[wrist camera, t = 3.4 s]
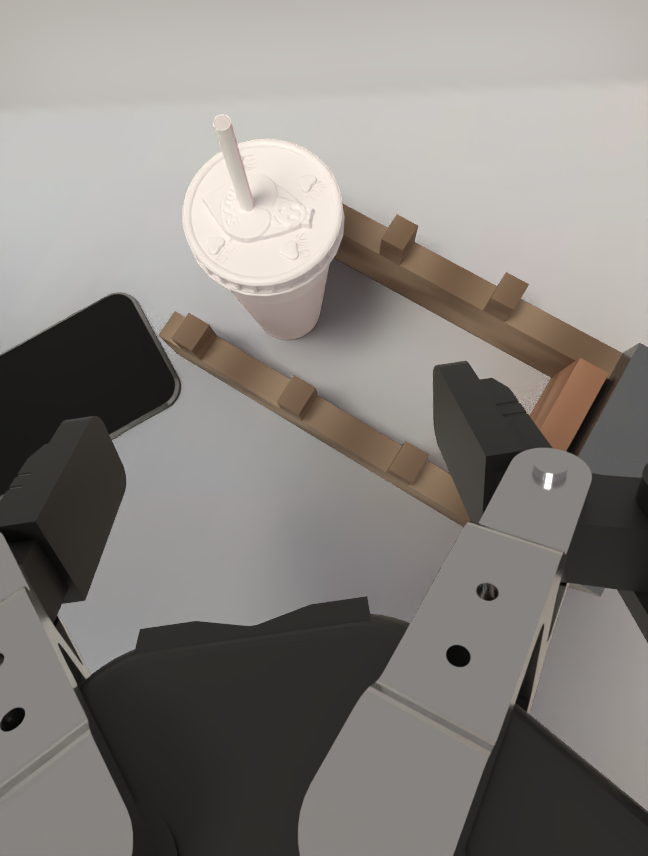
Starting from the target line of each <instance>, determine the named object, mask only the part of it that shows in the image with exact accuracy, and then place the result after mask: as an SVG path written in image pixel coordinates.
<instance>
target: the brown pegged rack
mask: <svg viewBox="0 0 648 856" xmlns="http://www.w3.org/2000/svg"><path fill="white" fill-rule="evenodd" d="M342 207H343V211H344V216H345V218H344V231H343V237H342V240H341V243H340V245H339V248H338V251H337V253H336V255H335V257H334V258H335V259H337V260H339V261H341V262H343V263H345V264H346V265H348V266H350V267H352V268H354V269H355V270H357V271H359V272H361V273H363V274H365V275H366V276H368V277H370V278H372V279H374V280H375V281H377V282H379V283H381V284H383V285H384V286H386V287H388V288H390V289H392V290H394V291H395V292H397V293H399V294H401V295H403V296H404V297H406V298H408V299H410V300H412V301H414V302H415V303H417V304H419V305H421V306H423V307H424V308H426V309H428V310H430V311H432V312H433V313H435V314H437V315H439V316H441V317H443V318H444V319H446V320H448V321H450V322H452V323H453V324H455V325H457V326H459V327H461V328H463V329H464V330H466V331H468V332H470V333H472V334H473V335H475V336H477V337H479V338H481V339H483V340H484V341H486V342H488V343H490V344H492V345H493V346H495V347H497V348H499V349H501V350H502V351H504V352H506V353H508V354H510V355H512V356H513V357H515V358H517V359H519V360H521V361H522V362H524V363H526V364H528V365H530V366H532V367H533V368H535V369H537V370H539V371H541V372H542V373H544V374H546V375H548V376H550V377H552V378H551V379H550V381H549V383H548V385H547V386H546V388H545V390H544V392H543V394H542V395H541V397H540V399H539V401H538V402H537V404H536V406H535V408H534V409H533V411H532V413H531V415H530V417H531V419H532V420H533V422H534V423H535V424H536V426H537V427H538V428H539V430H540V431H541V432H542V434H543V435H544V437H545V438H546V439H547V441H548V442H549V443H550V445H551V446H552V448H554V449H559V450H563V451H567V449H568V447H569V445H570V443H571V442H572V440H573V438H574V436H575V434H576V433H577V431H578V429H579V427H580V425H581V423H582V422H583V420H584V418H585V416H586V414H587V412H588V411H589V409H590V407H591V405H592V403H593V402H594V400H595V398H596V396H597V394H598V392H599V391H600V389H601V387H602V385H603V383H604V381H605V380H607V379H609V377H610V375H611V373H612V372H613V370H614V368H615V366H616V364H617V362H618V361H619V359H620V357H621V355H622V353H621V352H619V351H617V350H615V349H614V348H612V347H610V346H608V345H606V344H604V343H602V342H600V341H599V340H597V339H595V338H593V337H591V336H589V335H587V334H585V333H584V332H582V331H580V330H578V329H576V328H574V327H572V326H571V325H569V324H567V323H565V322H563V321H561V320H559V319H557V318H556V317H554V316H552V315H550V314H548V313H546V312H544V311H542V310H541V309H539V308H537V307H535V306H533V305H531V304H529V303H527V302H526V301H524V300H522V299H521V297H522V295H523V294H524V292H525V290H526V289H527V287H528V285H529V284H527V283H525V282H524V281H522V280H520V279H518V278H516V277H514V276H512V275H510V274H508V273H507V272H506V274H505V275H504V277H503V278H502V280H501V281H500V283H499V284H498V286H496V285H494V284H492V283H490V282H488V281H486V280H484V279H483V278H481V277H479V276H477V275H475V274H473V273H471V272H469V271H468V270H466V269H464V268H462V267H460V266H458V265H456V264H454V263H453V262H451V261H449V260H447V259H445V258H443V257H441V256H439V255H438V254H436V253H434V252H432V251H430V250H428V249H426V248H425V247H423V246H421V245H419V244H417V243H415V242H414V241H415V237H416V233H417V229H418V225H416V224H414V223H412V222H410V221H408V220H406V219H405V218H403V217H401V216H399V215H396V217H395V218H394V220H393V221H392V223H391V224H390V226H389V227H388V228H387V227H385V226H383V225H381V224H380V223H378V222H376V221H374V220H372V219H370V218H368V217H366V216H365V215H363V214H361V213H359V212H357V211H355V210H353V209H352V208H350V207H348V206H346V205H344V204H342ZM159 336H160V337H161V338H162V339H163V340H164V341H165V342H166V343H167V344H168V345H169V346H170V347H171V348H172V349H173V350H174V351H175V352H176V353H177V354H178V355H180V356H182V357H183V358H185V359H187V360H188V361H190V362H192V363H193V364H195V365H197V366H198V367H200V368H202V369H203V370H205V371H207V372H208V373H210V374H212V375H213V376H215V377H217V378H218V379H220V380H221V381H223V382H225V383H226V384H228V385H230V386H231V387H233V388H235V389H236V390H238V391H240V392H241V393H243V394H245V395H246V396H248V397H250V398H251V399H253V400H255V401H256V402H258V403H260V404H261V405H263V406H264V407H266V408H268V409H269V410H271V411H273V412H274V413H276V414H278V415H279V416H281V417H283V418H284V419H286V420H288V421H289V422H291V423H293V424H294V425H296V426H298V427H299V428H301V429H303V430H304V431H306V432H307V433H309V434H311V435H312V436H314V437H316V438H317V439H319V440H321V441H322V442H324V443H326V444H327V445H329V446H331V447H332V448H334V449H336V450H337V451H339V452H341V453H342V454H344V455H346V456H347V457H349V458H350V459H352V460H354V461H355V462H357V463H359V464H360V465H362V466H364V467H365V468H367V469H369V470H370V471H372V472H374V473H375V474H377V475H379V476H380V477H382V478H384V479H385V480H387V481H389V482H390V483H392V484H393V485H395V486H397V487H398V488H400V489H402V490H403V491H405V492H407V493H408V494H410V495H412V496H413V497H415V498H417V499H418V500H420V501H422V502H423V503H425V504H427V505H428V506H430V507H432V508H433V509H435V510H436V511H438V512H440V513H441V514H443V515H445V516H446V517H448V518H450V519H451V520H453V521H455V522H456V523H458V524H460V525H461V526H463V527H464V526H465V525H466V524H467V523H468V522H469V521H470V519H469V516H468V514H467V512H466V509H465V507H464V505H463V502H462V500H461V498H460V495H459V493H458V491H457V488H456V486H455V484H454V481H453V479H452V477H451V474H449V473H447V472H446V471H444V470H442V469H440V468H439V467H437V466H435V465H434V464H432V463H430V462H429V461H427V460H426V459H427V457H428V454H427V453H425V452H423V451H422V450H420V449H418V448H417V447H415V446H413V445H412V444H410V443H408V442H406V441H405V443H404V444H403V445H400V444H398V443H397V442H395V441H393V440H392V439H390V438H388V437H386V436H385V435H383V434H381V433H380V432H378V431H376V430H375V429H373V428H371V427H370V426H368V425H366V424H365V423H363V422H361V421H359V420H358V419H356V418H354V417H353V416H351V415H349V414H348V413H346V412H344V411H343V410H341V409H339V408H338V407H336V406H334V405H332V404H331V403H329V402H327V401H326V400H324V399H322V398H321V397H319V396H317V392H316V388H315V387H313V386H312V385H310V384H308V383H307V382H305V381H303V380H301V379H300V378H298V377H296V376H295V375H293V377H292V379H291V380H290V379H289V378H287V377H285V376H284V375H282V374H280V373H278V372H277V371H275V370H273V369H272V368H270V367H268V366H267V365H265V364H263V363H262V362H260V361H258V360H257V359H255V358H253V357H251V356H250V355H248V354H246V353H245V352H243V351H241V350H240V349H238V348H236V347H235V346H233V345H231V344H230V343H228V342H226V341H224V340H223V339H221V338H219V337H218V336H216V334H215V333H214V331H213V330H212V328H211V327H210V325H208V324H207V323H205V322H203V321H202V320H200V319H198V318H196V317H195V316H193V315H191V314H190V313H188V315H187V316H186V317H184V316H182V315H181V314H179V313H177V312H176V311H175V312H174V313H173V315H172V316H171V318H170V319H169V321H168V322H167V323H166V325H165V326H164V328H163V329H162V331H161V332H160V334H159Z"/></svg>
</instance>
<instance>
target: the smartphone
mask: <svg viewBox="0 0 648 856" xmlns="http://www.w3.org/2000/svg"><path fill="white" fill-rule="evenodd" d="M179 393H180V381H179V378H178V376H177V374H176V373H175V371H174V369H173V367H172V365H171V363H170V362H169V360H168V358H167V356H166V354H165V352H164V350H163V349H162V347H161V345H160V343H159V341H158V339H157V338H156V336H155V334H154V332H153V330H152V328H151V327H150V325H149V323H148V321H147V319H146V317H145V315H144V314H143V312H142V310H141V308H140V306H139V304H138V303H137V301H136V300H135V299H134V298H133V297H131V296H130V295H128V294H125V293H113V294H110V295H108V296H106V297H104V298H102V299H100V300H99V301H97V302H95V303H93V304H91V305H90V306H88V307H86V308H84V309H82V310H80V311H78V312H76V313H74V314H72V315H70V316H69V317H67V318H66V319H64V320H62V321H59V322H58V323H56V324H54V325H52V326H50V327H48V328H47V329H45V330H43V331H42V332H41V333H39V334H37V335H35V336H33V337H32V338H30V339H28V340H26V341H24V342H22V343H21V344H19V345H17V346H15V347H13V348H12V349H10V350H8V351H6V352H4V353H2V354H1V355H0V501H1V499H2V497H3V496H4V494H5V493H6V491H7V490H10V488H9V487H10V485H11V484H12V482H13V480H14V479H15V477H18V475H17V474H18V473H19V471H20V470H21V468H22V467H23V465H24V463H25V462H26V460H27V459H28V458H29V457H30V456H31V455H33V454H34V453H35V452H36V451H37V450H39V449H40V448H41V447H42V446H43V445H44V444H49V442H50V440H51V439H52V437H53V436H54V434H55V432H56V431H57V429H58V427H59V426H60V424H61V423H62V422H63V421H65V420H71V419H78V418H84V417H91V416H98V417H99V418H100V419H101V420H102V421H103V423H104V425H105V427H106V429H107V431H108V433H109V436H110V438H111V440H112V439H114V438H115V437H117V436H119V435H120V434H122V433H124V432H125V431H127V430H129V429H131V428H133V427H134V426H136V425H138V424H140V423H141V422H143V421H145V420H147V419H149V418H150V417H152V416H154V415H156V414H157V413H159V412H161V411H163V410H165V409H166V408H168V407H170V406H171V405H172V404H173V403H174V402H175V401H176V400H177V398H178V396H179Z"/></svg>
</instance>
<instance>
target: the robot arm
mask: <svg viewBox="0 0 648 856" xmlns="http://www.w3.org/2000/svg"><path fill="white" fill-rule="evenodd" d="M433 415H434V430H435V436H436V440H437V443H438V446H439V449H440V451H441V453H442V456H443V458H444V460H445V463H446V465H447V467H448V470H449V472H450V474H451V477H452V479H453V481H454V484H455V486H456V488H457V491H458V493H459V495H460V498H461V500H462V502H463V505H464V507H465V509H466V512H467V514H468V516H469V519H470V521H469V522H468V523H467V524H466V525H465V526H464V528H463V529H462V531H461V533H460V535H459V536H458V538H457V540H456V542H455V544H454V545H453V547H452V549H451V551H450V553H449V554H448V556H447V558H446V560H445V562H444V564H443V565H442V567H441V569H440V571H439V573H438V574H437V576H436V578H435V580H434V582H433V583H432V585H431V587H430V589H429V591H428V592H427V594H426V596H425V598H424V600H423V601H422V603H421V605H420V607H419V609H418V610H417V612H416V614H415V616H414V618H413V619H412V621H411V623H408V622H405V621H402V620H399V619H396V618H392V617H388V616H383V615H376V614H370V611H369V605H368V599H367V597H360V598H353V599H346V600H339V601H332V602H325V603H318V604H311V605H309V606H306V607H303V608H301V609H298V610H295V611H293V612H290V613H287V614H285V615H282V616H279V617H277V618H274V619H272V620H269V621H266V622H264V623H261V624H258V625H255V626H241V625H230V624H220V623H209V622H199V621H194V622H187V623H180V624H173V625H166V626H159V627H152V628H145V629H140V632H139V636H138V640H137V644H136V648H135V649H134V650H132V651H130V652H128V653H126V654H124V655H122V656H119V657H117V658H116V659H114V660H112V661H111V662H109V663H107V664H106V665H104V666H103V667H101V668H100V669H98V670H97V671H96V672H94V673H93V674H92V675H91V673H90V672H89V670H88V668H87V666H86V664H85V662H84V660H83V658H82V656H81V655H80V653H79V651H78V649H77V647H76V645H75V643H74V641H73V640H72V638H71V636H70V634H69V632H68V630H67V628H66V626H65V624H64V623H63V621H62V620H61V618H60V617H59V615H58V612H59V609H60V607H61V605H62V604H64V603H71V602H78V601H84V600H85V599H86V597H87V594H88V591H89V588H90V586H91V583H92V580H93V578H94V575H95V572H96V569H97V567H98V564H99V561H100V558H101V556H102V553H103V550H104V547H105V545H106V542H107V539H108V536H109V534H110V531H111V528H112V525H113V523H114V520H115V517H116V514H117V512H118V509H119V506H120V504H121V501H122V498H123V495H124V493H125V489H126V475H125V470H124V467H123V464H122V462H121V460H120V458H119V455H118V453H117V451H116V449H115V447H114V444H113V442H112V440H111V438H110V436H109V433H108V431H107V429H106V427H105V425H104V423H103V421H102V420H101V419H100V418H99V417H98V416H91V417H84V418H78V419H71V420H65V421H63V422H62V423H61V424H60V426H59V427H58V429H57V431H56V432H55V434H54V436H53V437H52V439H51V440H50V442H49V444H44V445H43V446H42V447H41V448H40V449H39V450H37V451H36V452H35V453H34V454H33V455H31V456H30V457H29V458H28V459H27V460H26V462H25V463H24V465H23V467H22V468H21V470H20V471H19V473H18V474H17V475H18V477H15V479H14V480H13V482H12V484H11V485H10V487H9V488H10V490H7V491H6V493H5V494H4V496H3V497H2V499H1V501H0V856H648V811H646V810H645V809H644V808H643V807H642V806H640V805H639V804H638V803H637V802H635V801H634V800H633V799H632V798H631V797H629V796H628V795H627V794H626V793H625V792H623V791H622V790H621V789H620V788H618V787H617V786H616V785H615V784H614V783H612V782H611V781H610V780H609V779H607V778H606V777H605V776H604V775H603V774H601V773H600V772H599V771H598V770H597V769H595V768H594V767H593V766H592V765H590V764H589V763H588V762H587V761H586V760H584V759H583V758H582V757H581V756H579V755H578V754H577V753H576V752H575V751H573V750H572V749H571V748H570V747H569V746H567V745H566V744H565V743H564V742H562V741H561V740H560V739H559V738H558V737H556V736H555V735H554V734H553V733H551V732H550V731H549V730H548V729H547V728H545V727H544V726H543V725H542V724H540V723H539V722H538V721H537V720H536V719H534V718H533V717H532V716H531V715H530V714H529V713H530V710H531V706H532V703H533V700H534V697H535V693H536V690H537V686H538V683H539V679H540V675H541V671H542V667H543V664H544V660H545V657H546V653H547V650H548V647H549V644H550V641H551V638H552V635H553V631H554V628H555V625H556V622H557V619H558V616H559V613H560V610H561V607H562V604H563V600H564V597H565V594H566V591H567V588H568V585H569V583H573V584H581V585H588V586H596V587H604V588H611V589H617V590H618V592H619V593H620V595H621V597H622V599H623V600H624V602H625V604H626V606H627V607H628V609H629V611H630V613H631V614H632V616H633V618H634V620H635V621H636V623H637V625H638V627H639V628H640V630H641V632H642V634H643V635H644V637H645V639H646V641H647V642H648V463H647V464H646V466H645V467H644V469H643V473H642V476H641V478H638V477H624V476H610V475H601V474H595V473H591V471H590V468H589V467H588V465H587V464H586V463H585V462H584V461H583V460H581V459H580V458H579V457H577V456H575V455H573V454H571V453H569V452H566V451H563V450H559V449H554V448H552V446H551V445H550V443H549V442H548V441H547V439H546V438H545V437H544V435H543V434H542V432H541V431H540V430H539V428H538V427H537V426H536V424H535V423H534V422H533V420H532V419H531V417H530V416H529V415H528V414H526V411H525V409H524V408H523V406H522V405H521V404H520V403H518V400H517V398H516V397H515V395H514V394H513V393H512V391H511V390H510V389H509V388H508V387H507V386H505V385H503V384H501V383H500V382H498V381H496V380H495V379H493V378H488V379H482V380H479V378H478V377H477V375H476V374H475V372H474V371H473V369H472V367H471V366H470V364H469V363H468V362H467V361H462V362H455V363H449V364H442V365H436V366H435V367H434V370H433Z"/></svg>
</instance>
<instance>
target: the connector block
mask: <svg viewBox="0 0 648 856" xmlns="http://www.w3.org/2000/svg"><path fill="white" fill-rule="evenodd" d="M566 452H569V453H571V454H573V455H575V456H577V457H579V458H580V459H581V460H583V461H584V462H585V463H586V464H587V465H588V467H589V468H590V471H591V473H595V474H601V475H610V476H624V477H638V478H641V476H642V473H643V469H644V467H645V466H646V464H647V463H648V347H646V346H644V345H643V344H641V343H639V344H637V345H635V346H634V347H632V348H630V349H629V350H627V351H625V352H624V353H622V355H621V357H620V359H619V361H618V362H617V364H616V366H615V368H614V370H613V372H612V373H611V375H610V377H609V379H607V380H605V381H604V383H603V385H602V387H601V389H600V391H599V392H598V394H597V396H596V398H595V400H594V402H593V403H592V405H591V407H590V409H589V411H588V412H587V414H586V416H585V418H584V420H583V422H582V423H581V425H580V427H579V429H578V431H577V433H576V434H575V436H574V438H573V440H572V442H571V443H570V445H569V447H568V449H567V451H566ZM568 587H570V588H574V589H577V590H580V591H584V592H587V593H590V594H594V595H597V596H601V594H602V592H603V590H604V587H596V586H588V585H581V584H573V583H569V585H568Z"/></svg>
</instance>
